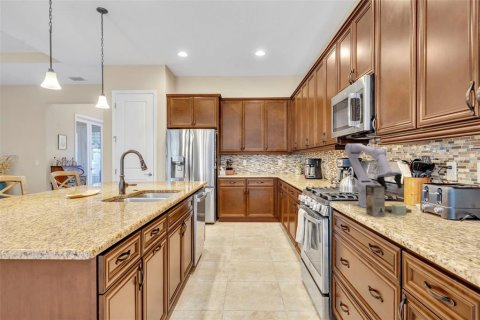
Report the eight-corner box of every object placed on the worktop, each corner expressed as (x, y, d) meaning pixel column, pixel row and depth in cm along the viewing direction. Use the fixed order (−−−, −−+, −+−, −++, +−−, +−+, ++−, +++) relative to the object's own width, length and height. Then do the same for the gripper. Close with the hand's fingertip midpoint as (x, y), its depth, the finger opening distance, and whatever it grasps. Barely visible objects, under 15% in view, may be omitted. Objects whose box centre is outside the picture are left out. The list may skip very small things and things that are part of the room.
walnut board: (379, 208, 160) (379, 206, 160) (399, 208, 159) (399, 205, 159) (389, 212, 148) (389, 209, 148) (411, 212, 147) (411, 209, 147)
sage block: (391, 213, 146) (391, 204, 146) (401, 213, 146) (400, 204, 146) (396, 215, 141) (396, 206, 141) (406, 215, 141) (405, 206, 141)
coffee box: (365, 213, 148) (365, 184, 148) (376, 212, 148) (376, 184, 148) (373, 216, 139) (372, 186, 139) (385, 216, 139) (385, 186, 139)
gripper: (373, 165, 147) (382, 187, 140) (399, 162, 146) (410, 184, 140) (369, 171, 153) (378, 192, 146) (394, 167, 153) (404, 189, 146)
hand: (393, 188), depth 143 cm, fingers open, 7 cm apart
